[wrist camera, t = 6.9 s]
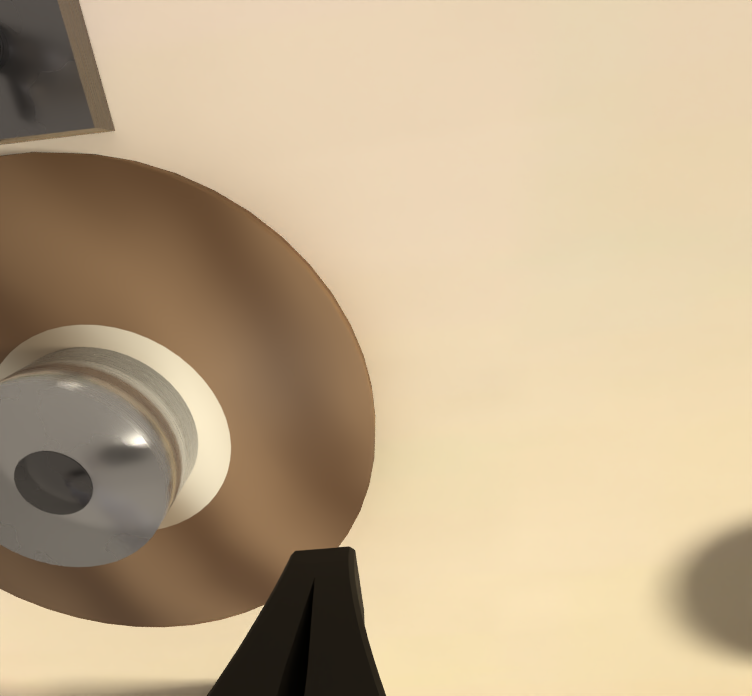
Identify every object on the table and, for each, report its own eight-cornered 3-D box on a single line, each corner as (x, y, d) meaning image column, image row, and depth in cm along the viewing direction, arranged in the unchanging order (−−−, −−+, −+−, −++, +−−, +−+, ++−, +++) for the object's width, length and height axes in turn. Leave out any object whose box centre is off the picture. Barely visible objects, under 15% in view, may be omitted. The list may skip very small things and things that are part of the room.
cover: (112, 535, 20) (67, 598, 17) (-31, 417, 18) (-110, 465, 15) (236, 448, 18) (210, 502, 15) (95, 308, 16) (35, 339, 13)
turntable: (152, 667, 24) (142, 688, 23) (-245, 394, 18) (-279, 407, 17) (475, 451, 19) (480, 466, 18) (77, 1, 14) (55, -11, 13)
